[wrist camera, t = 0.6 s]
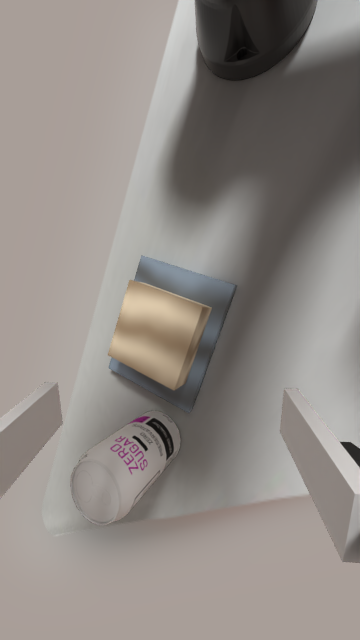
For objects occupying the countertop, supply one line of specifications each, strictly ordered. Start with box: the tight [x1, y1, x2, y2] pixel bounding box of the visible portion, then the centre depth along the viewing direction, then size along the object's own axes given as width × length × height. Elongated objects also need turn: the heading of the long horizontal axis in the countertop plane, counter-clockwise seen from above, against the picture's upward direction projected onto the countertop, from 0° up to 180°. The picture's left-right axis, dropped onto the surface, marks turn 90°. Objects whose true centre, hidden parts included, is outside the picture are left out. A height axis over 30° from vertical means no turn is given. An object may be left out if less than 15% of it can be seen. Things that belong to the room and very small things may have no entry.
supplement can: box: [70, 411, 181, 526], centre depth 35 cm, size 8×8×15 cm
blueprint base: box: [108, 255, 237, 413], centre depth 38 cm, size 20×16×5 cm
